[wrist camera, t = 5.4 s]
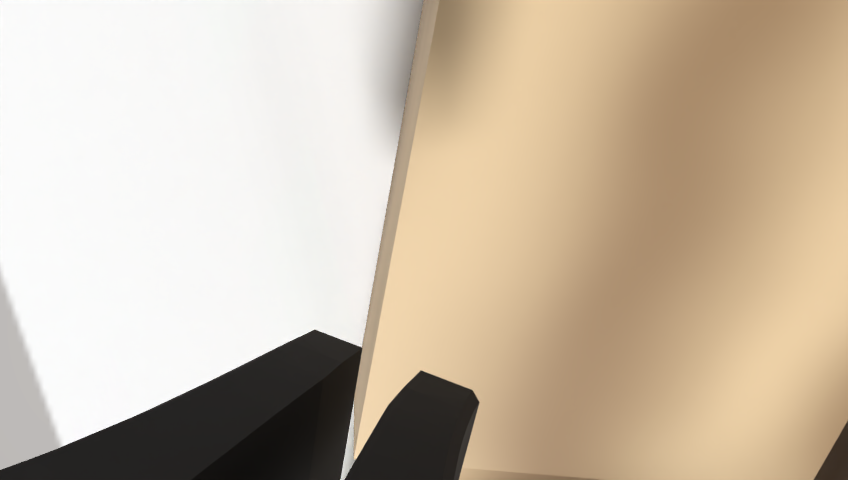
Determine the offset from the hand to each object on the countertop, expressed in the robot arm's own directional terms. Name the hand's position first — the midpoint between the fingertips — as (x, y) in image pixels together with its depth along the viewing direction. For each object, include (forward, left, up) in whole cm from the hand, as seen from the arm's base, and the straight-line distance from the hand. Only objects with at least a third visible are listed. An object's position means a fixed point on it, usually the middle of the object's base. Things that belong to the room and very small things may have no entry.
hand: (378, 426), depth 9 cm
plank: (-2, -1, -7) cm, 8 cm away
